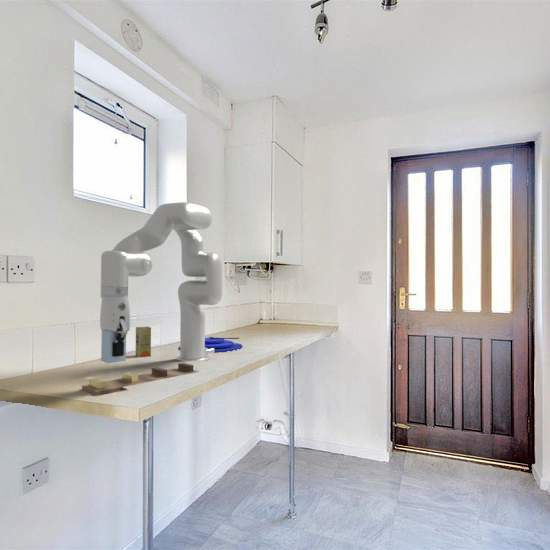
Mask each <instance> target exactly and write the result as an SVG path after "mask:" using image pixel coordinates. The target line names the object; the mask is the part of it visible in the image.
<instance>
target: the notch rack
mask: <svg viewBox="0 0 550 550" xmlns="http://www.w3.org/2000/svg"><path fill="white" fill-rule="evenodd" d="M199 372H200V371H199V370H195V369H194V364H192V363H185V362H180V363H179V362H178V364H177V367H176V368H170V369H165V368H162V367H158V366H157V367H151V372H149V373H144V374H135V373H131V372H129V371H127V372H122V373H121V378H117V379H115V378H114V379H110V380H102V379H99V378H97V377H92V378H88V384H83V385H81V390H84V391H86V392H88V393H89V394H93V395H94V396H102V395H107V394H112V393H117V392H122V391H126V390H128V389H127V388H125V387H129V386H135V385H139V384H144V383H150V382H155V381H159V380H166V379H169V378H174V377H180V376H184V375H190V374H194V373H199Z"/></svg>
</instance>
